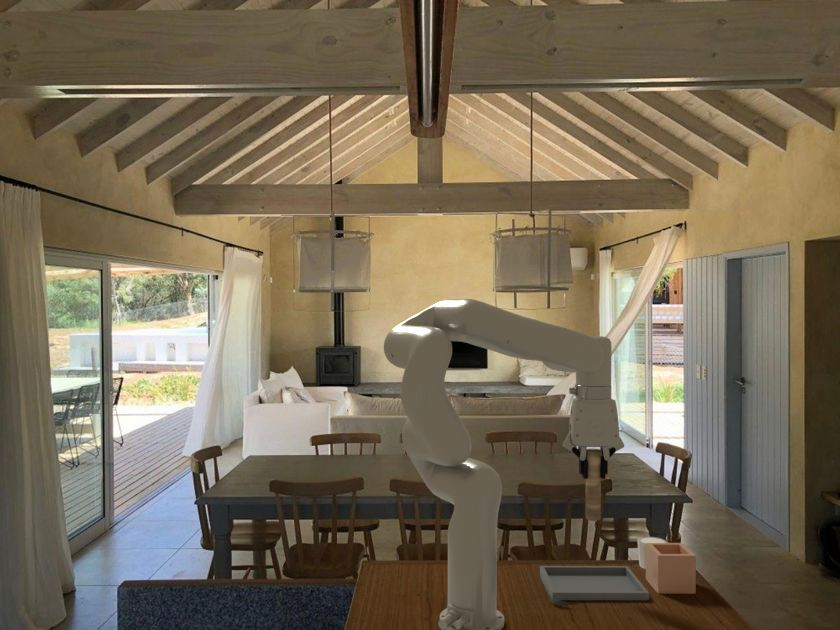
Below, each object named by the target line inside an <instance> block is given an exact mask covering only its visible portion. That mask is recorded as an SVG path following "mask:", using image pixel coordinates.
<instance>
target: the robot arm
mask: <svg viewBox="0 0 840 630" xmlns="http://www.w3.org/2000/svg"><path fill="white" fill-rule="evenodd" d="M452 342H462V343H467V344H468V345H472V346H476V347H478V348H483V349H485V350H489V351H492V352H496V353H498V354H500V355H501V354H502V355H504V356H507V357H511V358H516V359H520V360H525V361H526V360H527V361H538V362H541V363H543V365H544V366H546V368H548V369H550V370H554V371H558V372H566V373H575V384H574V387H569V388H568V393H569V395H574V396H575V398H573V399H572V403H571V408H570V413H569V414H570V415H569V423H568V425H569V426H568V433H567V435H566V437H565V439H564V440H563V442H562V447H563V448H565V449H567V451H570V452H572V453H573V454H574V455H575V456H576V457H578V472H579V473H578V474H579V475H581V477H582V479H584V480H586V479H587V478H588V461H587V460H586V450H587V449H588V448H599V449H600V450H601V480H605V479H606V475H608V474H609V473H608V472H609V470H608V468H609V467H608V466H609V464H608V463H609V462H608V461H610V458H611V457H612V456H613V455H614V454H615V453H616V452H618V451H620V450H623V448H624V447H625V443H624V441H623V440H622V438H621V436H620V427H619V425H620V424H619V423H620V422H619V413H618V406H617V402H616V400H615V399H613V398H612V353H613V352H612V351H613V350H612V341H611V339H610V338H609V337H607V336H604V335H603V336H601V335H600V336H599V335H598V336H597V335H587V334H585V333H583V332H582V333H581V332H578V331H576V330H573V329H569V328H566V327H562V326H559V325H556V324H551V323H548V322H547V323H546V322H544V321H540V320H537V319H533V318H529V317H526V316H522V315H520V314H517V313H514V312H511V311H507V310H505V309H503V308H500V307H497V306H494V305H492V304H489V303H486V302H484V301H481V300H477V299H473V298H472V299H471V298H449V299H448V298H447V299H443V300H440V301H439V302H436V303H434V304H433V305H430V306H428V307H427V308H425V309H423V310H422V311H420V312H419V313H416V314H415V315H413V316H411V317H409V318H407V319H406V320H404V321H402V322H400V323H399V324H397V325H395V326H394V327H393V328H392V329H390V330H389V332H388V333H387V335H386V336H385V339H384V342H383V352H384V356H385V357H386V359H387V360H388V362H389V363H390V364H392V365H393V367H394V366H395V367H396V368H399V369H404V372H403V375H402V380H401V384H400V385H401V386H400V392H399V393H400V402H401V406H402V408H403V410H404V412H405V414H406V416H407V419H406V420H405V422H404V424H403V426H402V431H401V440H402V446H403V448H404V451H405V452H406V455H407V456H408V458H409V459H410V461H411V463H412V465H413V466H414V468H415V469H416V470H417V471H416V472H417V473H418V474H419V476H420V478H421V479H422V481H423V482H424V484H425V486H426V487H427V489H429V491H430V492H431V493H432V494H433V495H434V496H436V497H438V498H439V499H441V500H443V501H445V502H448V503H450V504H452V505H453V507H454V508H453V512H452V515H451V517H450V520H449V523H448V529H447V605H446V608H445V609H443V610H442V611H441V612H440V614H439V620H438V623H437V624H438V628H439V629H440V630H503V628H504V627H505V616H504V614H503V613H502V612H501V611H499V610H498V609H497V603H498V602H497V601H498V600H497V599H498V598H497V595H498V593H497V591H498V590H497V587H498V586H497V585H498V584H497V580H498V579H497V577H498V573H497V572H498V568H497V567H498V566H497V564H498V560H497V559H498V558H497V557H498V543H497V542H498V541H497V540H498V536H497V535H498V520H499V518H498V517H499V512H500V511H499V510H500V505H501V500H502V494H503V483H502V480H501V477H500V475H499V474H498V472H497V470H496V469H494V468H493V467H492V466H491V465H489V464H488V463H485V462H483V461H481V460H477V459H474V458H471V457H470V455H471V453H472V439H471V436H470V433H469V431H468V429H467V428H466V426H465V425H464V422H463V421H462V419H461V417H460V416H459V414H458V412H457V410H456V409H455V407H454V405H453V403H452V401H451V400H450V398H449V395H448V393H447V391H446V387H445V386H446V385H445V381H446V379H445V378H446V374H447V370H448V368H449V365H450V361H451V360H452V355H453V345H452ZM574 445H575V446H574Z"/></svg>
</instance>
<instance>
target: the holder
mask: <svg viewBox="0 0 840 630" xmlns="http://www.w3.org/2000/svg"><path fill="white" fill-rule="evenodd" d="M696 569H697V555H696V554H695V553H694V552H692V551H691V550H690V548H688V547H687V546H686V545H684V543H682V542H668V543H646V569H645V580H646V581H647V582H648V583H649V585H650V586H651V587H652V588H653V590H655V592H656V593H657V594H690V595H691V594H692V595H693V594H695V595H696V589H697V587H696V584H697V583H696V581H697V580H696V579H697V574H696V573H697V572H696V571H697V570H696Z"/></svg>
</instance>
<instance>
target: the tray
mask: <svg viewBox="0 0 840 630" xmlns="http://www.w3.org/2000/svg"><path fill="white" fill-rule="evenodd" d="M539 569H540V570H539V578H540V579H541V582H542V584H544V585H543V586H544V588H545V591H546V593H547V596H548V598H549V599H550V602H551V604H552V605H553V606H554V605H555V606H560V605H563V606H564V605H565V606H566V605H567V606H569V605H570V606H573V605H575V606H576V605H577V606H578V605H579V604H578V603H573V602H569V601H650V592H649V591H648V590H647V588H646V587H645V586H644V585H643V583H642V582H641V581H640V580H639V578H638V577H637V576H636V575H635V573H634V572H633V571H632V570H631V568H630V567H629V566H628V565H615V566H614V565H610V566H609V565H540V566H539Z"/></svg>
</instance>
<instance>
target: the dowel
mask: <svg viewBox="0 0 840 630" xmlns="http://www.w3.org/2000/svg"><path fill="white" fill-rule="evenodd" d="M586 460H587V461H588V478H587V479H585V520H587V521H592V522H596V521H597V522H598V521H601V520H602V519H601V517H602V516H601V514H602V512H601V511H602V510H601V509H602V501H601V498H602V491H601V490H602V487H601V486H602V485H601V484H602V481H601V480H602V478H601V450H600V448H594V447H589V448H587V450H586Z"/></svg>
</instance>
